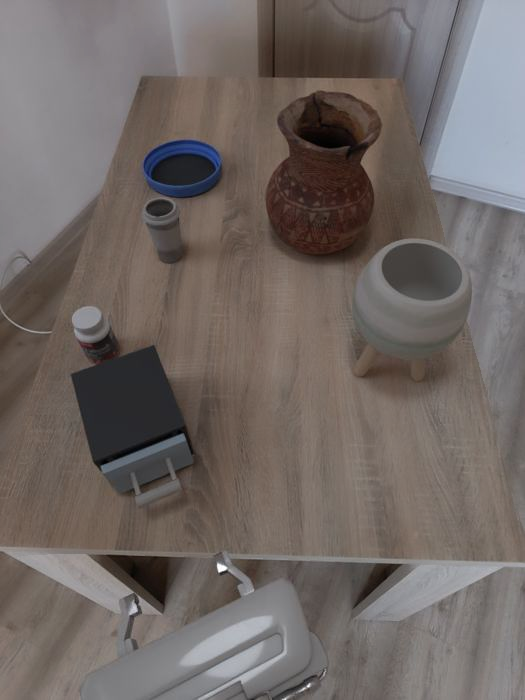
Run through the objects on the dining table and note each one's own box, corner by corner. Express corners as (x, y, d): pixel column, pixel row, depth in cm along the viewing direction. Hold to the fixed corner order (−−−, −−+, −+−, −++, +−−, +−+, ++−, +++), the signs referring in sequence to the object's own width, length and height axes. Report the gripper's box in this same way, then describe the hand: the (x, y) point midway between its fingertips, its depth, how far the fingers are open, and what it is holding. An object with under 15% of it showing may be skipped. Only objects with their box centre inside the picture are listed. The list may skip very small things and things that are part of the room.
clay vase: (383, 257, 96) (415, 142, 75) (284, 279, 92) (289, 165, 72) (342, 190, 108) (360, 75, 87) (253, 208, 104) (250, 93, 84)
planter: (450, 393, 78) (507, 306, 59) (356, 411, 76) (384, 327, 58) (413, 317, 87) (453, 221, 68) (328, 332, 85) (345, 237, 67)
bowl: (231, 158, 115) (230, 144, 112) (208, 205, 105) (207, 191, 102) (161, 147, 118) (159, 134, 115) (133, 193, 108) (129, 179, 105)
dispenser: (194, 453, 72) (185, 425, 64) (113, 487, 70) (92, 461, 61) (166, 378, 80) (154, 344, 72) (91, 406, 77) (70, 373, 69)
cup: (150, 266, 95) (136, 219, 85) (155, 243, 98) (143, 195, 88) (186, 267, 94) (176, 219, 85) (190, 243, 98) (181, 195, 88)
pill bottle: (88, 369, 81) (68, 334, 73) (86, 343, 84) (66, 307, 76) (122, 361, 82) (106, 326, 74) (118, 335, 85) (103, 299, 77)
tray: (205, 493, 68) (198, 473, 61) (128, 527, 65) (111, 510, 59) (166, 390, 78) (156, 363, 71) (97, 416, 75) (80, 390, 68)
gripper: (342, 679, 39) (271, 521, 46) (95, 819, 34) (59, 619, 42) (333, 678, 44) (271, 536, 51) (117, 800, 40) (82, 625, 47)
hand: (175, 574), depth 46 cm, fingers open, 8 cm apart
